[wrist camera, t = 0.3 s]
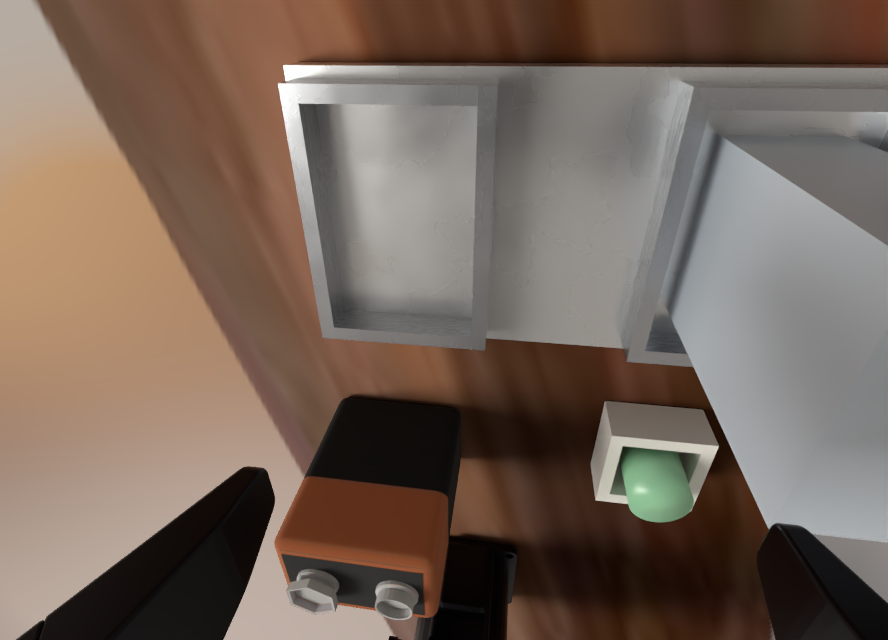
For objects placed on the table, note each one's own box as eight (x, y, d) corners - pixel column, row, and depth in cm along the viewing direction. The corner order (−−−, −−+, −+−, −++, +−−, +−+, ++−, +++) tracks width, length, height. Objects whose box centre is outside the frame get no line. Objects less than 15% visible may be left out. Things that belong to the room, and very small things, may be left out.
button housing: (678, 473, 26) (691, 511, 24) (590, 463, 27) (595, 500, 25) (703, 409, 24) (718, 446, 22) (605, 400, 24) (611, 435, 22)
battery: (341, 392, 27) (257, 564, 19) (462, 404, 26) (432, 590, 18) (349, 447, 29) (279, 621, 21) (461, 459, 28) (434, 646, 20)
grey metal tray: (792, 345, 21) (824, 385, 19) (335, 312, 24) (315, 344, 22) (925, 64, 15) (993, 74, 13) (296, 62, 18) (263, 69, 16)
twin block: (771, 319, 19) (981, 584, 10) (667, 312, 20) (783, 560, 11) (849, 137, 16) (1281, 310, 7) (718, 134, 16) (958, 292, 7)
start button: (670, 477, 25) (685, 525, 23) (614, 471, 25) (623, 518, 23) (684, 439, 24) (701, 486, 21) (624, 433, 24) (635, 479, 22)
